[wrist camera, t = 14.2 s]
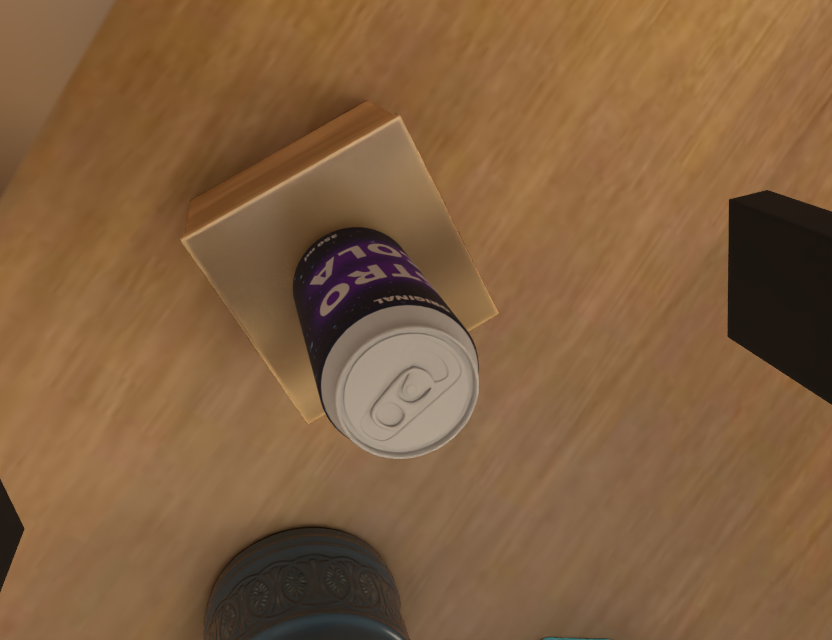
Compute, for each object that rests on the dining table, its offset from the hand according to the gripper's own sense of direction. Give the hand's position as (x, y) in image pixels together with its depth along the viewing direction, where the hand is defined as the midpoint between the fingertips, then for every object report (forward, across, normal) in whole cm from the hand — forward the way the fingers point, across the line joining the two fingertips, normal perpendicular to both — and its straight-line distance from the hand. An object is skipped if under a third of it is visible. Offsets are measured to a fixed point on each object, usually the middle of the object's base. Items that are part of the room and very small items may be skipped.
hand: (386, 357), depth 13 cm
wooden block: (+30, +1, -7) cm, 31 cm away
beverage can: (+22, +2, -7) cm, 23 cm away
